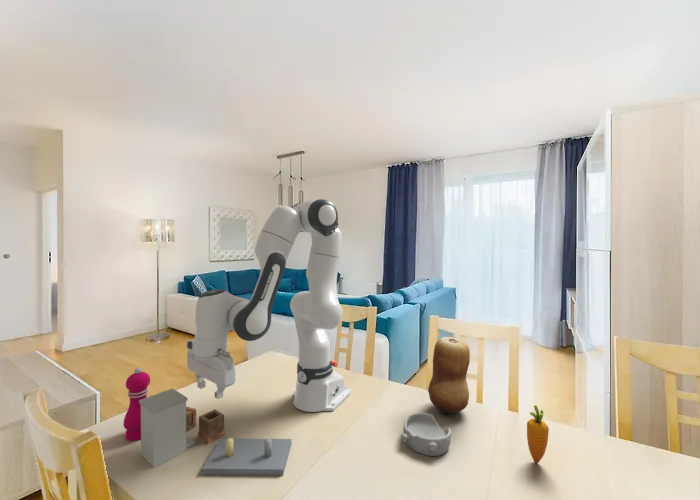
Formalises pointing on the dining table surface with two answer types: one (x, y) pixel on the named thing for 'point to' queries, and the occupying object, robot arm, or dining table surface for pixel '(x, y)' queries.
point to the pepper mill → (135, 403)
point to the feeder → (163, 427)
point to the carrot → (537, 435)
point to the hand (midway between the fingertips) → (209, 392)
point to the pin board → (248, 457)
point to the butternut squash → (450, 375)
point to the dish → (425, 435)
